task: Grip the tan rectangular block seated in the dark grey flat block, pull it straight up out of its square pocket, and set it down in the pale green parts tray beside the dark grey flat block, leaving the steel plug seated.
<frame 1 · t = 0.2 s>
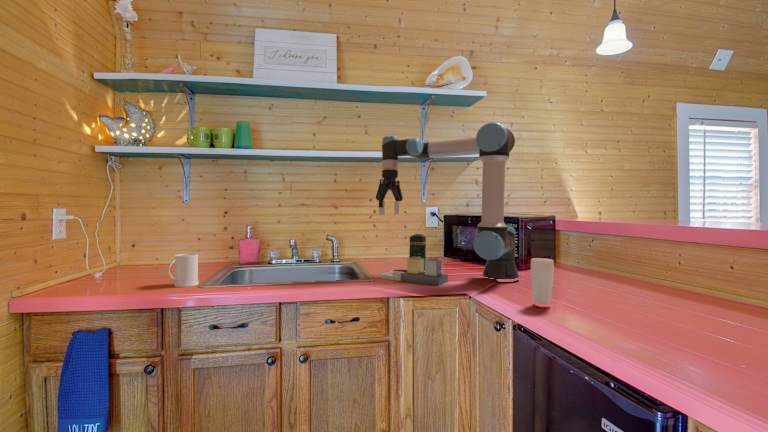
hand: (389, 214, 175), 28 cm above the counter, fingers open, 13 cm apart
dark grey flat block: (424, 283, 151), on the counter
mug: (182, 286, 145), on the counter
tray: (394, 279, 160), on the counter
steel plug: (433, 282, 149), point 1 cm above the counter, touching dark grey flat block
coffee jar: (417, 272, 177), on the counter
tan rectangular block: (415, 280, 153), point 1 cm above the counter, touching dark grey flat block
drinking glass: (541, 307, 118), on the counter
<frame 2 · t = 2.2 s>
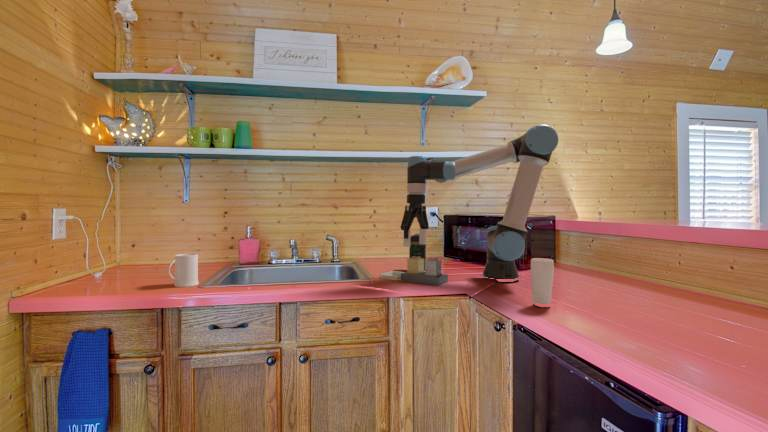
hand: (414, 245, 153), 15 cm above the counter, fingers open, 13 cm apart
nothing on the counter moved.
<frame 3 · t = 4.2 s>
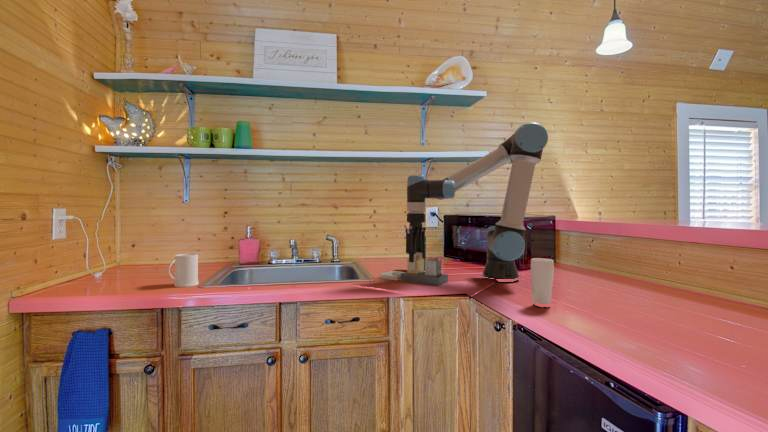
hand: (415, 268, 153), 6 cm above the counter, fingers closed on tan rectangular block, 5 cm apart
tan rectangular block: (415, 280, 153), point 1 cm above the counter, touching gripper, dark grey flat block
everything else where it was.
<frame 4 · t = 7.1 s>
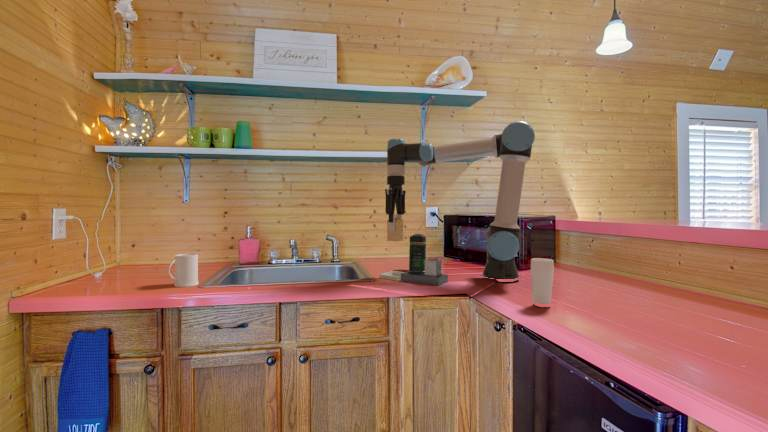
hand: (395, 229, 159), 22 cm above the counter, fingers closed on tan rectangular block, 5 cm apart
tan rectangular block: (395, 240, 159), point 17 cm above the counter, touching gripper
everything else where it was.
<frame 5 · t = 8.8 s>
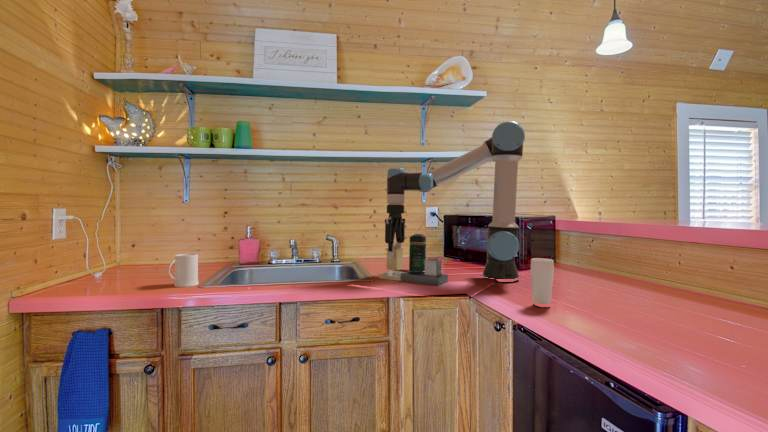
hand: (394, 258, 160), 9 cm above the counter, fingers closed on tan rectangular block, 5 cm apart
tan rectangular block: (394, 269, 160), point 5 cm above the counter, touching gripper
everything else where it was.
when the fingers open (7 cm above the counter, at t = 10.0 s): tan rectangular block drops 1 cm, resting on tray.
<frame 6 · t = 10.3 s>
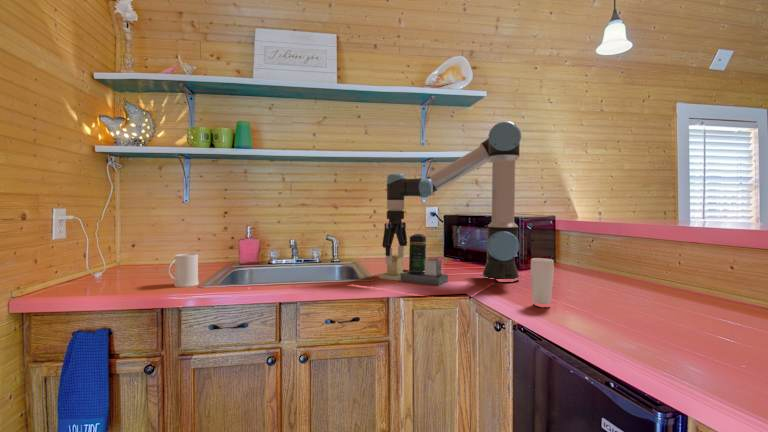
hand: (395, 261, 160), 8 cm above the counter, fingers open, 9 cm apart
tan rectangular block: (395, 278, 160), resting on tray
everything else where it was.
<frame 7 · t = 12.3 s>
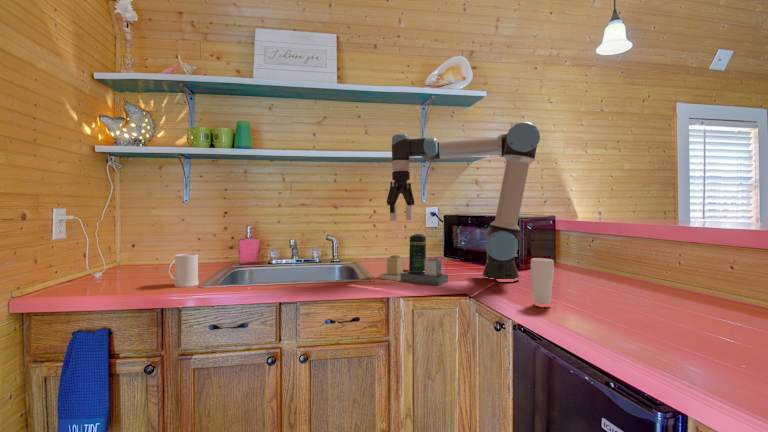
hand: (401, 220, 159), 26 cm above the counter, fingers open, 13 cm apart
nothing on the counter moved.
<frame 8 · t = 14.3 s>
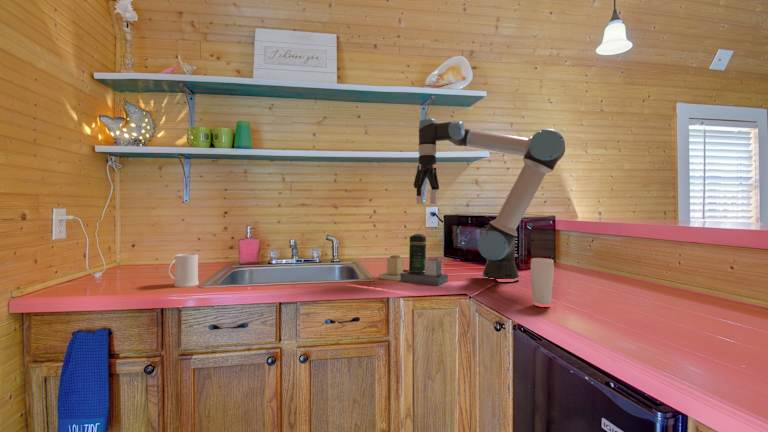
hand: (426, 204, 162), 33 cm above the counter, fingers open, 13 cm apart
nothing on the counter moved.
at the end: tan rectangular block inside the target area on the tray (0.0 cm from its centre), point 0.5 cm above the tray's base; the gripper is holding nothing; steel plug moved 0.1 cm from its start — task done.
